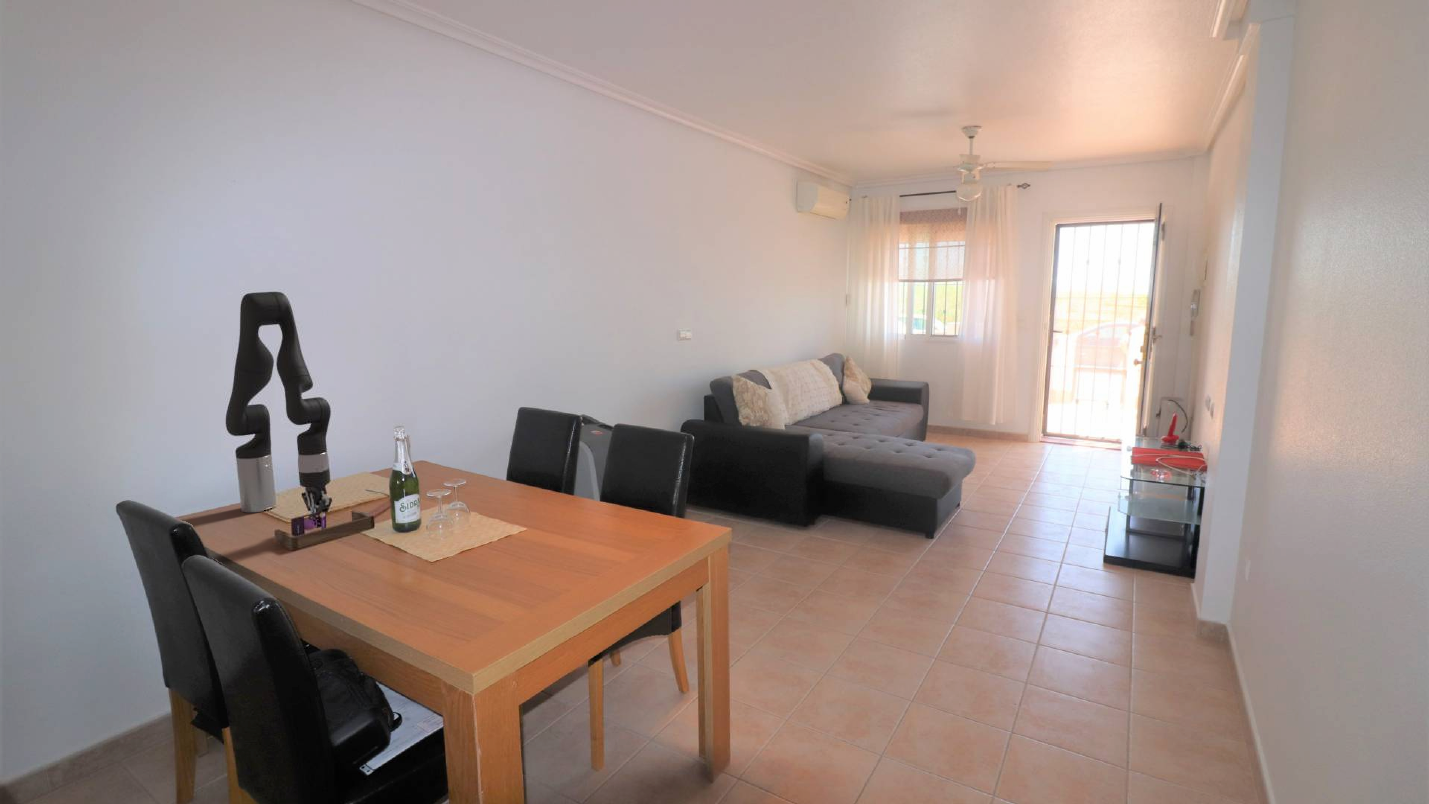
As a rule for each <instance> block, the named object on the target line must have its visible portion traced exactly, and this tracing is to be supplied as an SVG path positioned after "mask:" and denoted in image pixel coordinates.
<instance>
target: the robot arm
mask: <svg viewBox="0 0 1429 804" xmlns="http://www.w3.org/2000/svg"><path fill="white" fill-rule="evenodd" d="M239 308H240V310H239V311H240V312H239V336H238V337H239V338H238V346H237V347H238V348H237V354H236V359H235V366H234V373H233V383H232V390H231V395H230V398H229V402H228V405H227V410H226V415H225V427H226V431H227V433H228V434H229V435H231V436H233V437H245V436H251V435H254V437H253V438H251V439H250V440H249V441H248V442H246V443H243V444H242V445H239V446H238V447H236V449H235V461H236V470H237V471H236V472H237V480H238V489H239V501H240V509H241V512H243V513H259V512H265V511H264V510H265V509H266V508H268V507H274V506H275V505H276V506H277V499H276V489H275V479H274V478H275V477H274V466H273V457H272V456H273V455H272V438H271V436H272V435H271V417H270V412H269V409H268V407H267V406H266V405H265V404H262V403H261V404H260V403H259V404H258V403H257V404H249V403H250V402H251V401H252V400H253V399H254V398H255V397H256V396H257V395H258V394H259V393H260V392H261V391H262V390H263V389H264V388H266V387H267V385H268V384H269V383H270V382H271V379H272V376H273V370H274V365H275V359H274V357H273V354H272V353H271V351H270V349H268V347H267V346H266V344H264V342H263V341H262V340H261V338H260V336H259V332H260V328H261V327H262V326H263V327H264V326H273V325H279V328H280V331H281V336H282V337H281V343H280V346H279V349H278V352H277V357H276V370H277V373H278V376H279V378H280V380H281V383H282V386H283V389H284V396H285V411H286V412H285V413H286V417H287V418H288V420H289V421H290V422H291V423H292V424H293V425H295V426H303V425H309V424H310V425H309V428H308V429H307V430H305V431H303V432H300V433H299V434H298V435H297V436H296V445H297V453H298V455H297V457H298V458H297V468H298V480H299V486H300V487H303V488H304V491H305V492H301V497H302V500H303V503H304V504H305V506H306V509H307V511H308V512H310V514H313V513H317V512H322V511H326V514H328V512H329V509H330V508H331V504H332V503H333V498H332V497H328V492H327V487H326V486H327V485H329V484H330V483H331V471H330V462H329V461H330V459H329V456H328V450H327V449H328V448H327V434H328V429H329V425H330V420H331V415H332V414H331V413H332V411H331V405H330V404H329V402H328V400H327V399H325V398H324V397H319V396H317V397H310V398H303V396H302V394H303V393H306V392H308V391H310V390H311V389H312V388H313V387H314V381H313V379H312V376H311V375H310V374H311V373H310V371H309V369H308V366H307V364H306V361H305V358H304V355H303V352H302V349H301V344H300V339H299V334H298V330H297V326H296V321H295V317H294V312H293V309H292V304H291V303H290V300H289V299H288V297H287V295H286V294H284V293H283V292H281V291H264V292H263V291H260V292H259V291H258V292H249V293H246V294H244V295H243V297H242V298H241V302H240V307H239ZM274 508H275V507H274ZM313 516H314V515H313ZM316 519H318V520H317V523H320V524H317V526H318V527H316V528H315V529H317V528H318V529H319V528H322V525H321V517H320V513H319V517H318V518H316ZM316 519H315V520H316Z"/></svg>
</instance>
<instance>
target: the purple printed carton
mask: <svg viewBox="0 0 1429 804" xmlns="http://www.w3.org/2000/svg"><path fill="white" fill-rule="evenodd" d="M319 513H320V517H321V525H322V527H321V529H324V528H327V513H326V511H322V512H317V513H313V514H311V513H310V514H306V515H302V516H297V517H294V518H291V519H290V524H291V525H290V526H291V535H293V536H299V535H302V534H306V533H305V531H310V530H314V529H317V528H316V527H318V526H317V524H320V523H317V520H318V519H316V518H318V517H319ZM313 515H314V516H313ZM307 517H308V518H307ZM305 518H307V519H305ZM315 519H316V520H315Z"/></svg>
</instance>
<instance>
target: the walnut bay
mask: <svg viewBox="0 0 1429 804" xmlns="http://www.w3.org/2000/svg"><path fill="white" fill-rule="evenodd" d="M350 512H351V521H348V522H344V523H339V524H337V525H332V526H329V527H326V528H324V529H322V528H320V529H317V530H313V531H310V532H307V533H305V534H302V535H299V536H293V535H292V533H288V532H286V531H284V530H281V529H275V530H274V539H275V543H276V544H278V545H280V546H283V547H285V548H287V549H289V550H292V551H298V550H302V549H305V548H309V547H312V546H316V545H319V544H323V543H326V542H330V541H333V540H337V539H340V538H343V537H347V536H350V535H354V534H358V533H360V532H365V531H368V530H371V529H374V527H375V526H376V525H375V516H374V515H373V514H372V515H371V514H368V513H366V512H362V511H359V510H357V509H352V510H351V511H350ZM364 530H365V531H364Z"/></svg>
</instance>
